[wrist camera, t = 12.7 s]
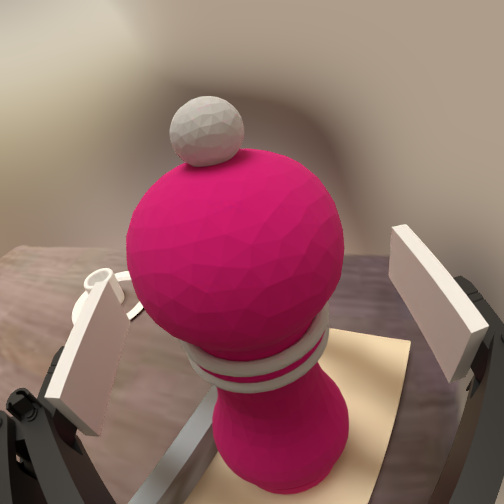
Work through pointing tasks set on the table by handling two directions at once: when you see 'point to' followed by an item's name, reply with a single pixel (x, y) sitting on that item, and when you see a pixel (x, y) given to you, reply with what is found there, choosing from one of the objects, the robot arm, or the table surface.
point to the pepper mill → (247, 293)
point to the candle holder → (113, 280)
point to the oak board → (343, 471)
